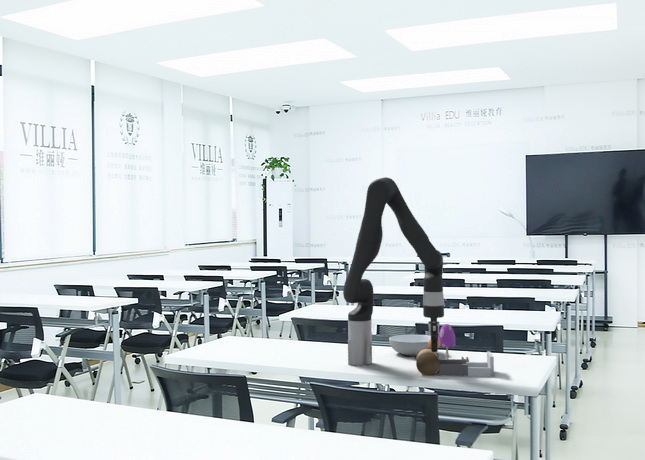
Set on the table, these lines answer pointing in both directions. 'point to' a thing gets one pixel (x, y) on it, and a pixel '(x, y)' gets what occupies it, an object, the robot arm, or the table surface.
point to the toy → (447, 337)
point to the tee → (466, 359)
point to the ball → (437, 342)
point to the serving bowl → (409, 343)
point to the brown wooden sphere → (427, 361)
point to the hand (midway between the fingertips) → (434, 350)
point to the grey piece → (467, 367)
